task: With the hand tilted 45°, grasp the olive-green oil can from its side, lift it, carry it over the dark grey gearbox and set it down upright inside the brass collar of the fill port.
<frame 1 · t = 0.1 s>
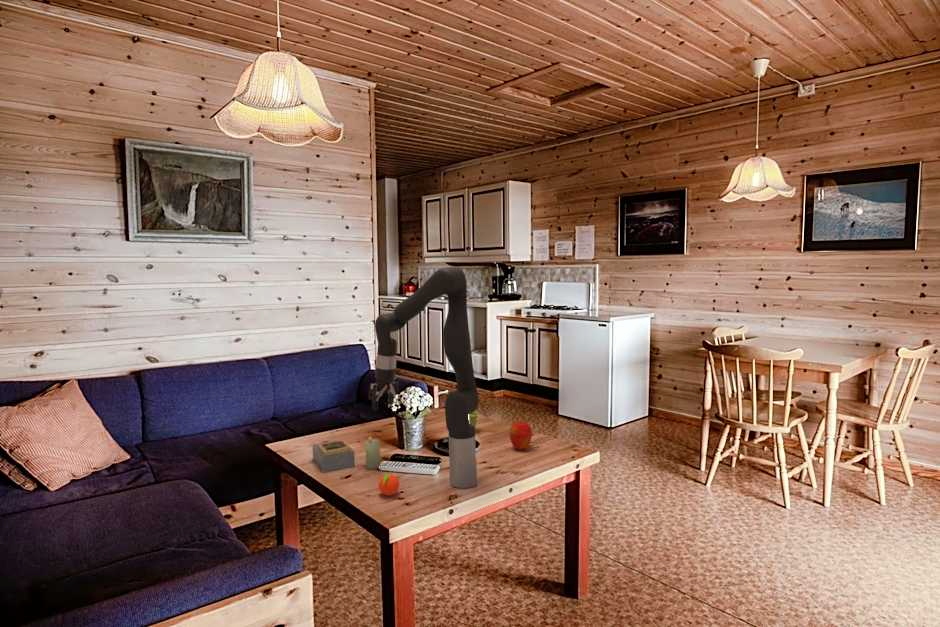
hand: (382, 406, 216), 22 cm above the table, tool pointing down, fingers open, 8 cm apart
apple: (520, 449, 232), on the table
clementine: (388, 495, 190), on the table
plant pot: (468, 432, 254), on the table
spout can: (373, 466, 216), on the table
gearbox: (333, 462, 221), on the table
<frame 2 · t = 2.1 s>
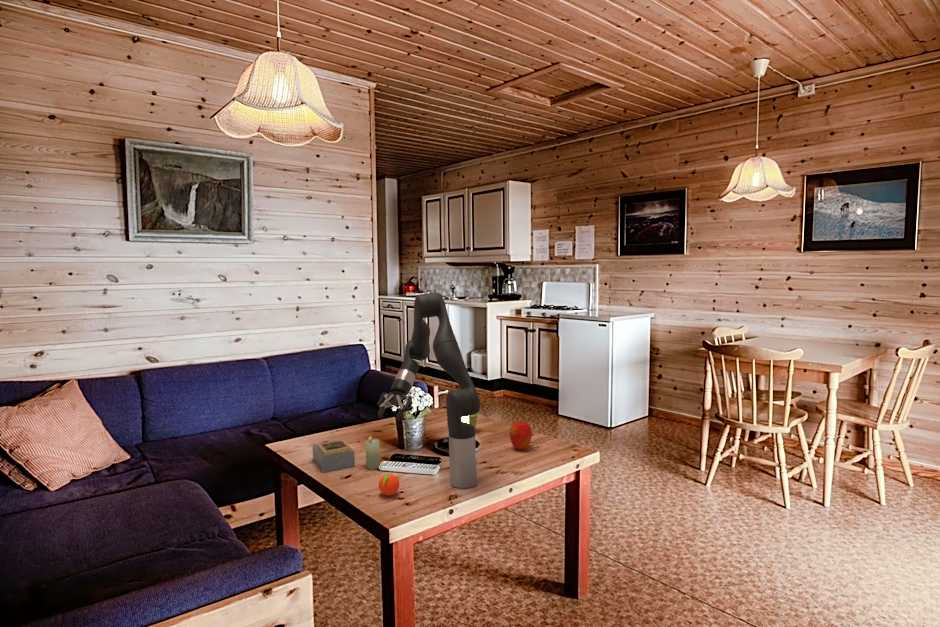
hand: (388, 418, 224), 16 cm above the table, tool tilted 45°, fingers open, 8 cm apart
nothing on the table moved.
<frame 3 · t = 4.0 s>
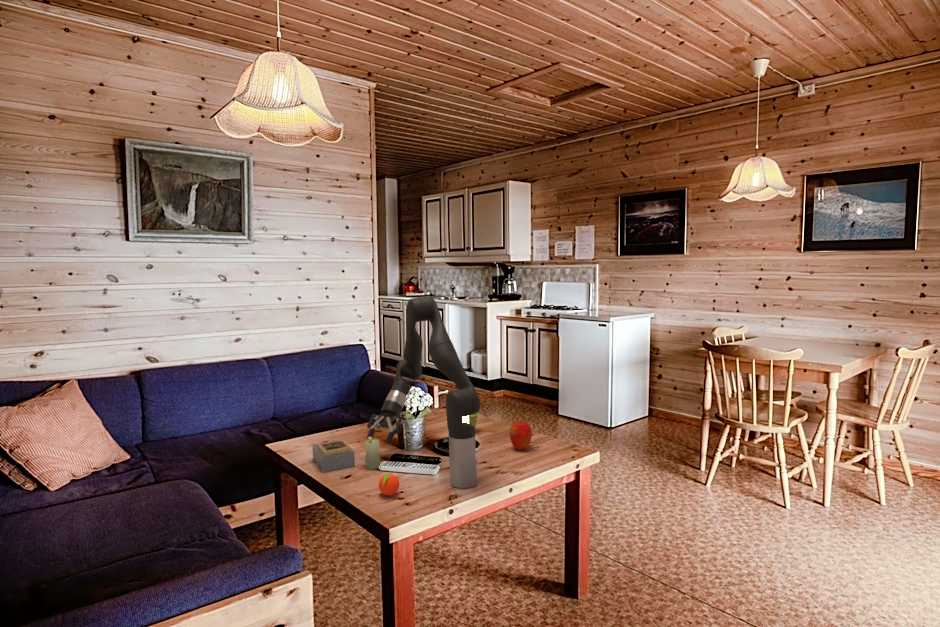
hand: (378, 440, 218), 9 cm above the table, tool tilted 45°, fingers open, 8 cm apart
nothing on the table moved.
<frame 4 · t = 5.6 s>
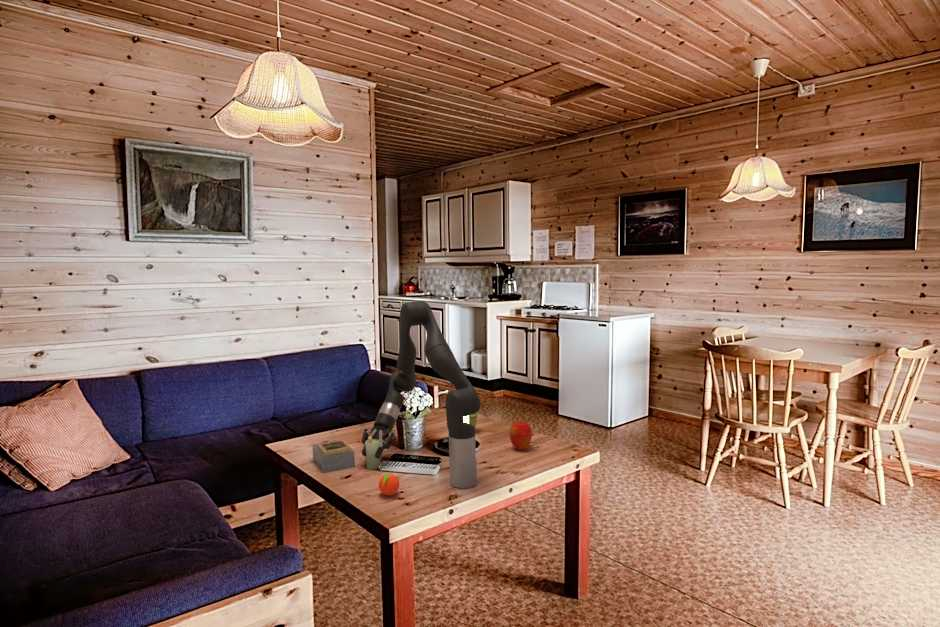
hand: (370, 456, 214), 5 cm above the table, tool tilted 45°, fingers closed on spout can, 5 cm apart
spout can: (373, 466, 216), on the table, touching gripper
everything else where it was.
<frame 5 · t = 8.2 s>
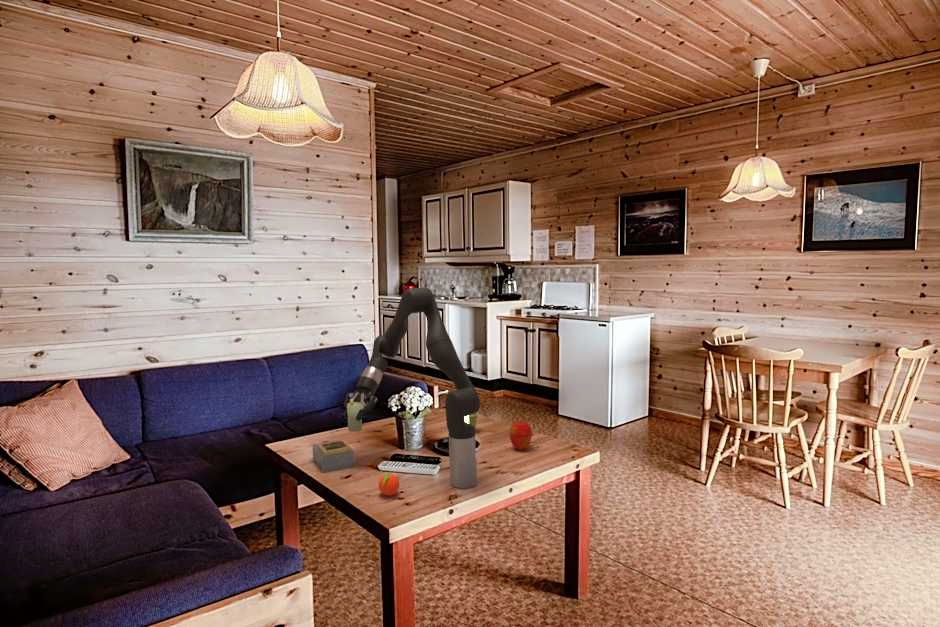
hand: (351, 418, 214), 19 cm above the table, tool tilted 45°, fingers closed on spout can, 5 cm apart
spout can: (355, 429, 217), point 14 cm above the table, touching gripper
everything else where it was.
when the fingers open (12 cm above the table, at t = 10.3 s): spout can drops 1 cm, resting on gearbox.
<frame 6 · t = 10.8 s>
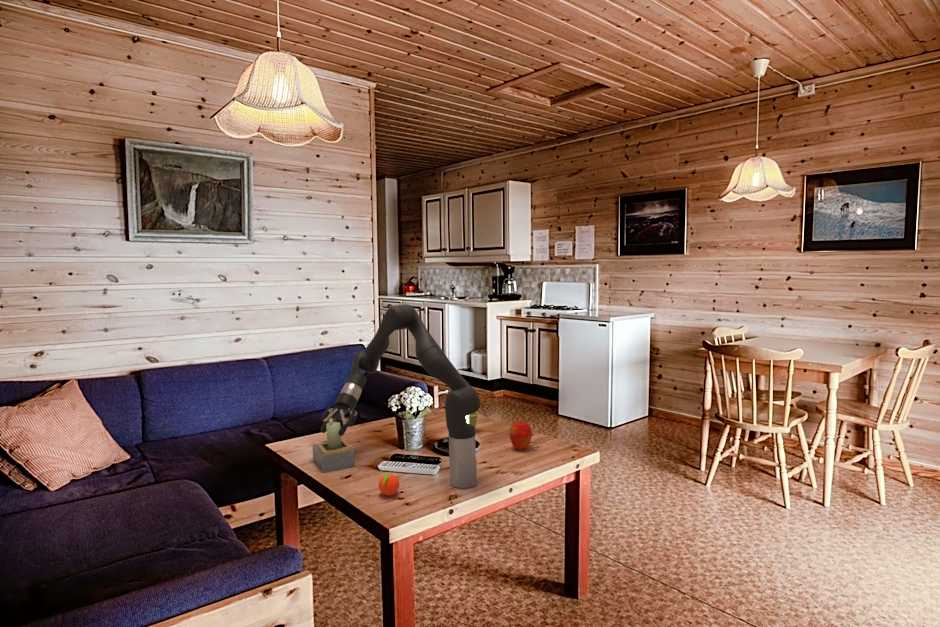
hand: (331, 433, 216), 13 cm above the table, tool tilted 45°, fingers open, 8 cm apart
spout can: (334, 448, 218), point 6 cm above the table, touching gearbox
everything else where it was.
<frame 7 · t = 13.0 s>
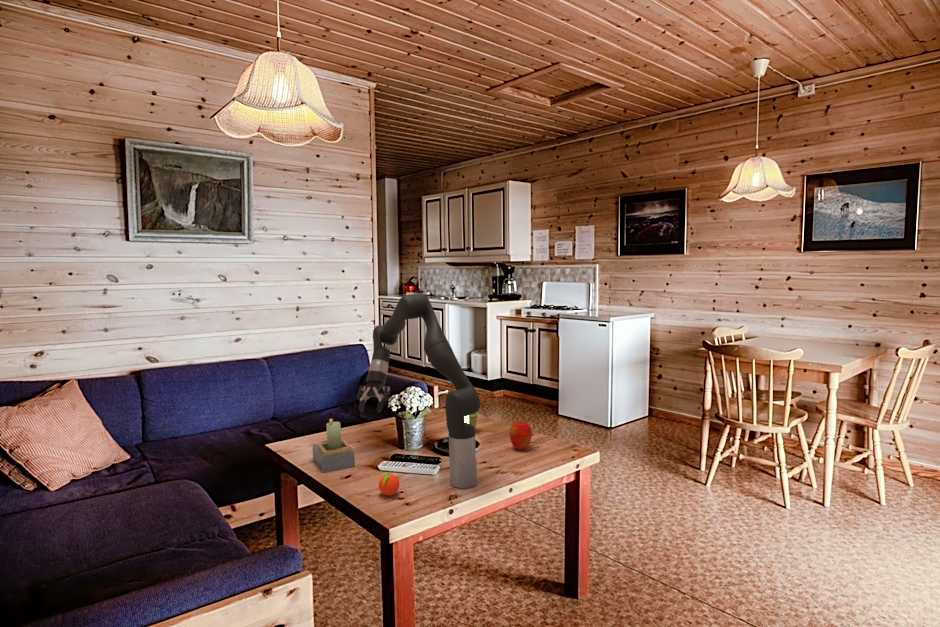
hand: (369, 411, 227), 18 cm above the table, tool tilted 30°, fingers open, 8 cm apart
nothing on the table moved.
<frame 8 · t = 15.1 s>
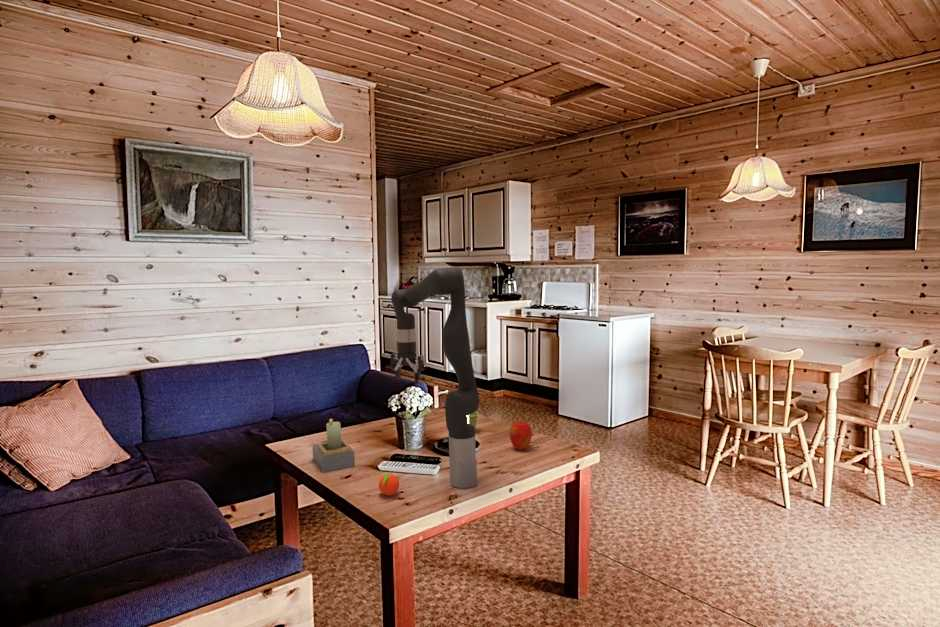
hand: (407, 380, 225), 30 cm above the table, tool pointing down, fingers open, 8 cm apart
nothing on the table moved.
at the end: spout can 0.2 cm from the target spot on the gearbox, point 6.1 cm above the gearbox's base; spout can tilted 0°; the gripper is holding nothing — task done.
